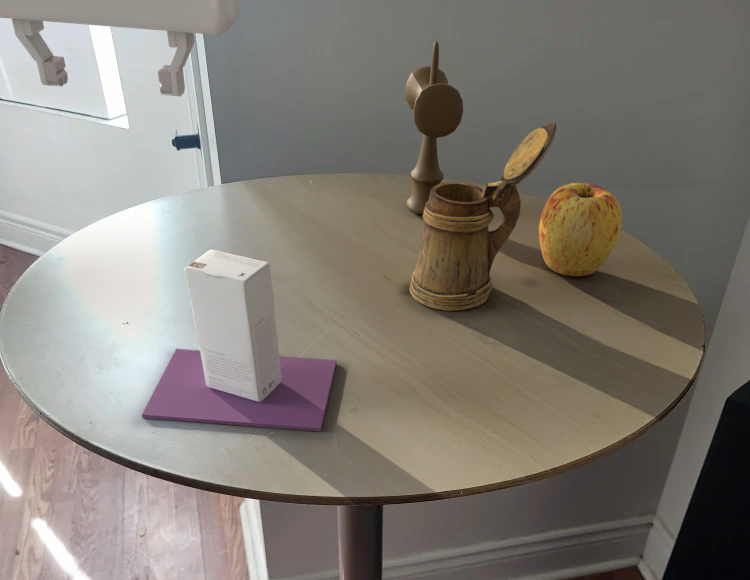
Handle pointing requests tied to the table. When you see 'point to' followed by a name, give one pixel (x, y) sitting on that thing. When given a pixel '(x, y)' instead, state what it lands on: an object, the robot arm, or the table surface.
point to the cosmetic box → (235, 323)
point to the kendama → (430, 125)
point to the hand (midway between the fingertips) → (114, 89)
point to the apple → (579, 228)
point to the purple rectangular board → (207, 405)
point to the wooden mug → (471, 231)
